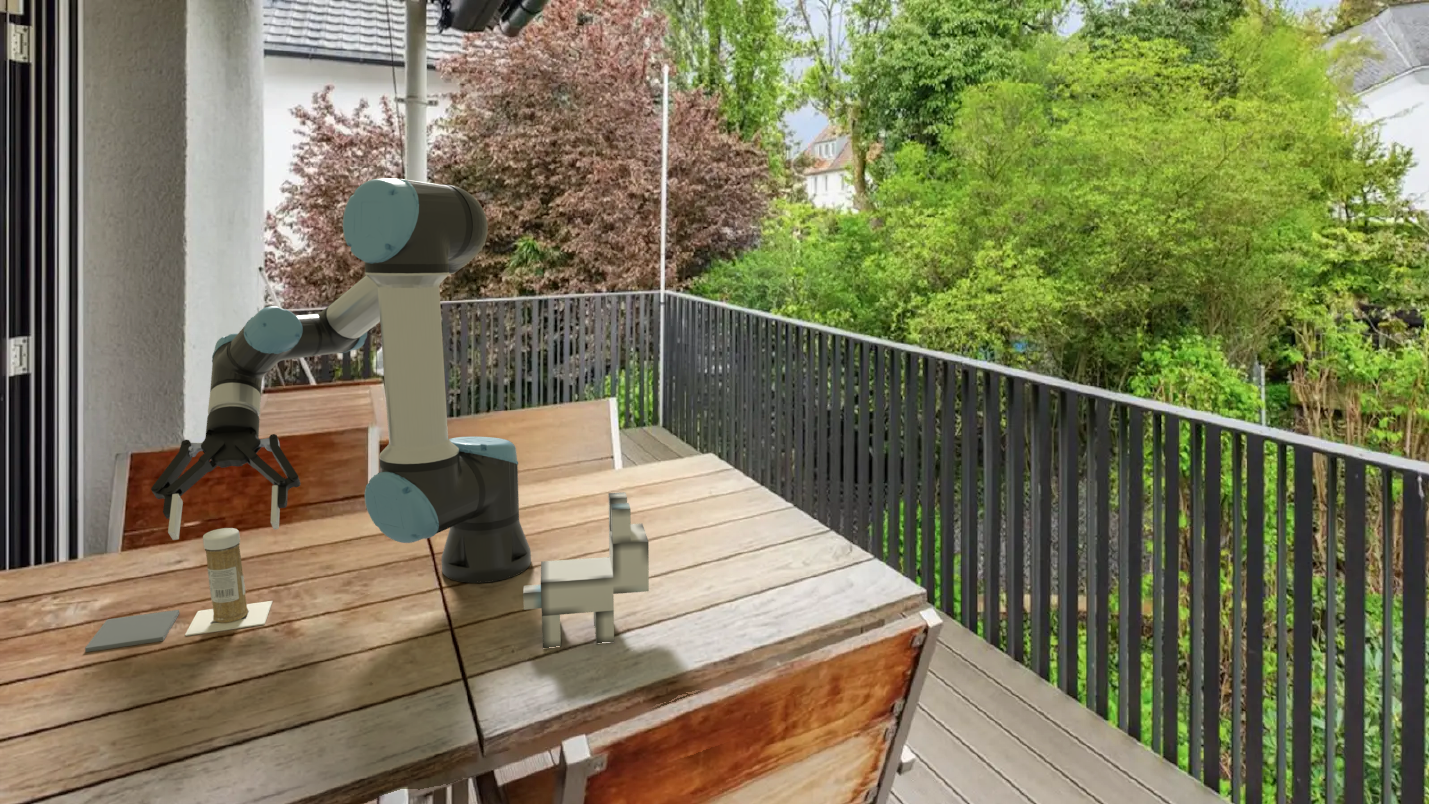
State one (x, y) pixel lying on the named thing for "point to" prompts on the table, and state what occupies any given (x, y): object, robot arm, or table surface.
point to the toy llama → (593, 578)
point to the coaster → (133, 630)
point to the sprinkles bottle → (225, 574)
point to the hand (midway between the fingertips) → (225, 530)
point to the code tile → (206, 623)
